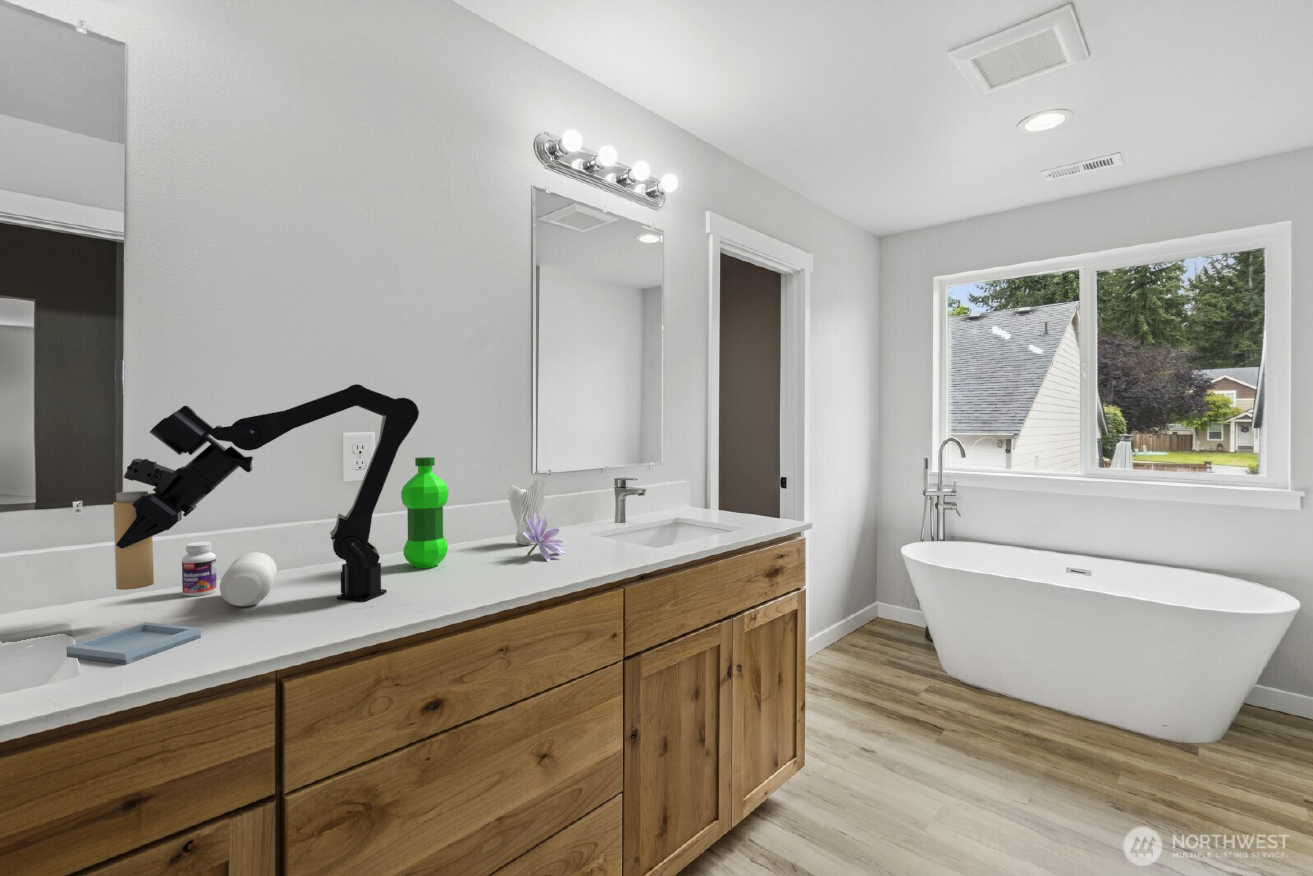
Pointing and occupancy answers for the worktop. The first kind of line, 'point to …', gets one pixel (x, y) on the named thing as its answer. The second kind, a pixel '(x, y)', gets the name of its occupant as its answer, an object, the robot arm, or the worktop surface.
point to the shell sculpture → (526, 506)
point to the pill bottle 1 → (198, 570)
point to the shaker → (131, 546)
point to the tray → (133, 642)
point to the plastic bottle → (425, 515)
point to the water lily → (538, 532)
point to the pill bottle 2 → (248, 579)
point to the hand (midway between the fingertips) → (123, 544)
